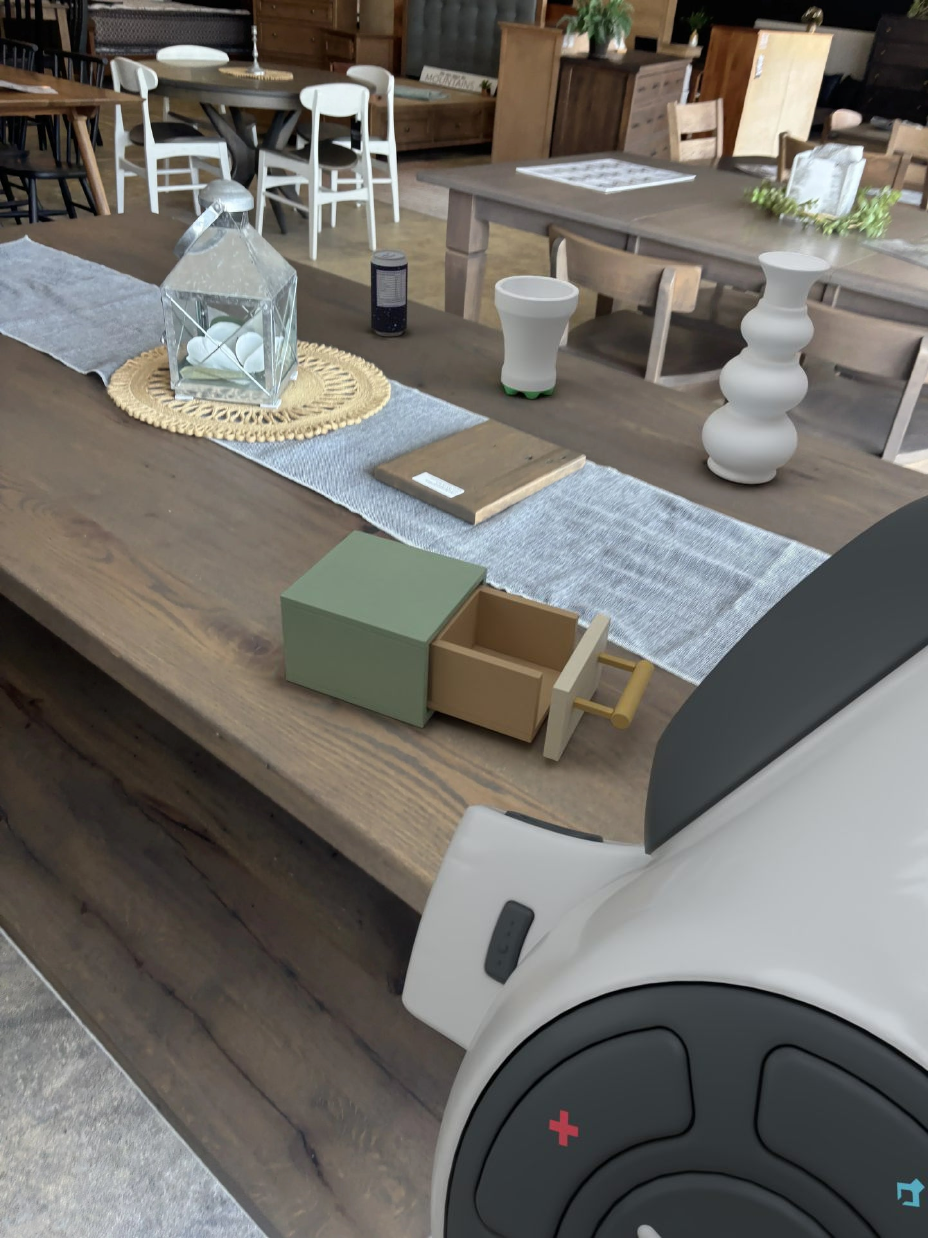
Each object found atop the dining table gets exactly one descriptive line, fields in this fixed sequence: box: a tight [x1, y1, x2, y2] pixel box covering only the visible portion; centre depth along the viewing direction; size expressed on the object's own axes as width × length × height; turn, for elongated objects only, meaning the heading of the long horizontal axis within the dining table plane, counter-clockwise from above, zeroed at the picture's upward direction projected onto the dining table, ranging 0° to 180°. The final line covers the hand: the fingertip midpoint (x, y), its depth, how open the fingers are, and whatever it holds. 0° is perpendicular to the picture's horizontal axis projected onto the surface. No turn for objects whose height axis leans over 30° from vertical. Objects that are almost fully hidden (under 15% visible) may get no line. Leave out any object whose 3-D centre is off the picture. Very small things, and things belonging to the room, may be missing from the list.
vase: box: [701, 250, 831, 485], centre depth 103 cm, size 11×11×25 cm
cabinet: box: [279, 529, 488, 729], centre depth 74 cm, size 12×11×8 cm
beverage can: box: [370, 249, 409, 338], centre depth 141 cm, size 6×6×12 cm
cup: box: [494, 275, 580, 400], centre depth 124 cm, size 11×11×14 cm
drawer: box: [427, 584, 655, 762], centre depth 70 cm, size 16×10×7 cm, turn 66°
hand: (713, 952), depth 37 cm, fingers closed
